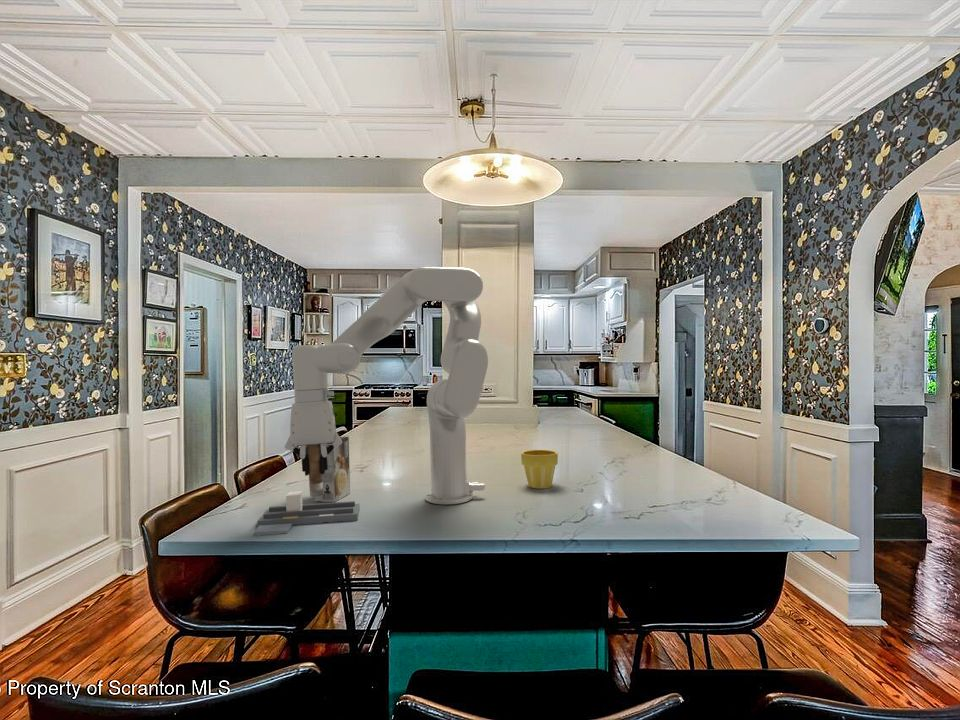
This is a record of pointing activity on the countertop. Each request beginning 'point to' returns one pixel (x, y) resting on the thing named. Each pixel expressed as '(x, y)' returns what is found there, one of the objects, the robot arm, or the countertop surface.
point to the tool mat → (272, 529)
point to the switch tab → (294, 501)
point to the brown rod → (315, 470)
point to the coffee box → (336, 473)
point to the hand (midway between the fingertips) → (315, 473)
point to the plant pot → (539, 467)
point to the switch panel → (311, 514)
